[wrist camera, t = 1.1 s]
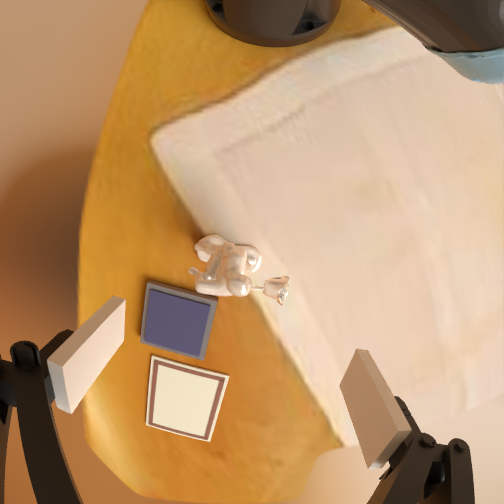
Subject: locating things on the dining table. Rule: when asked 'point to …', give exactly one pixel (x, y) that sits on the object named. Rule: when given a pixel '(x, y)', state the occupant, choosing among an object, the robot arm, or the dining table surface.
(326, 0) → the robot arm
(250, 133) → the dining table surface
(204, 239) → the figurine
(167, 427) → the print sheet
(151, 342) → the ink pad
